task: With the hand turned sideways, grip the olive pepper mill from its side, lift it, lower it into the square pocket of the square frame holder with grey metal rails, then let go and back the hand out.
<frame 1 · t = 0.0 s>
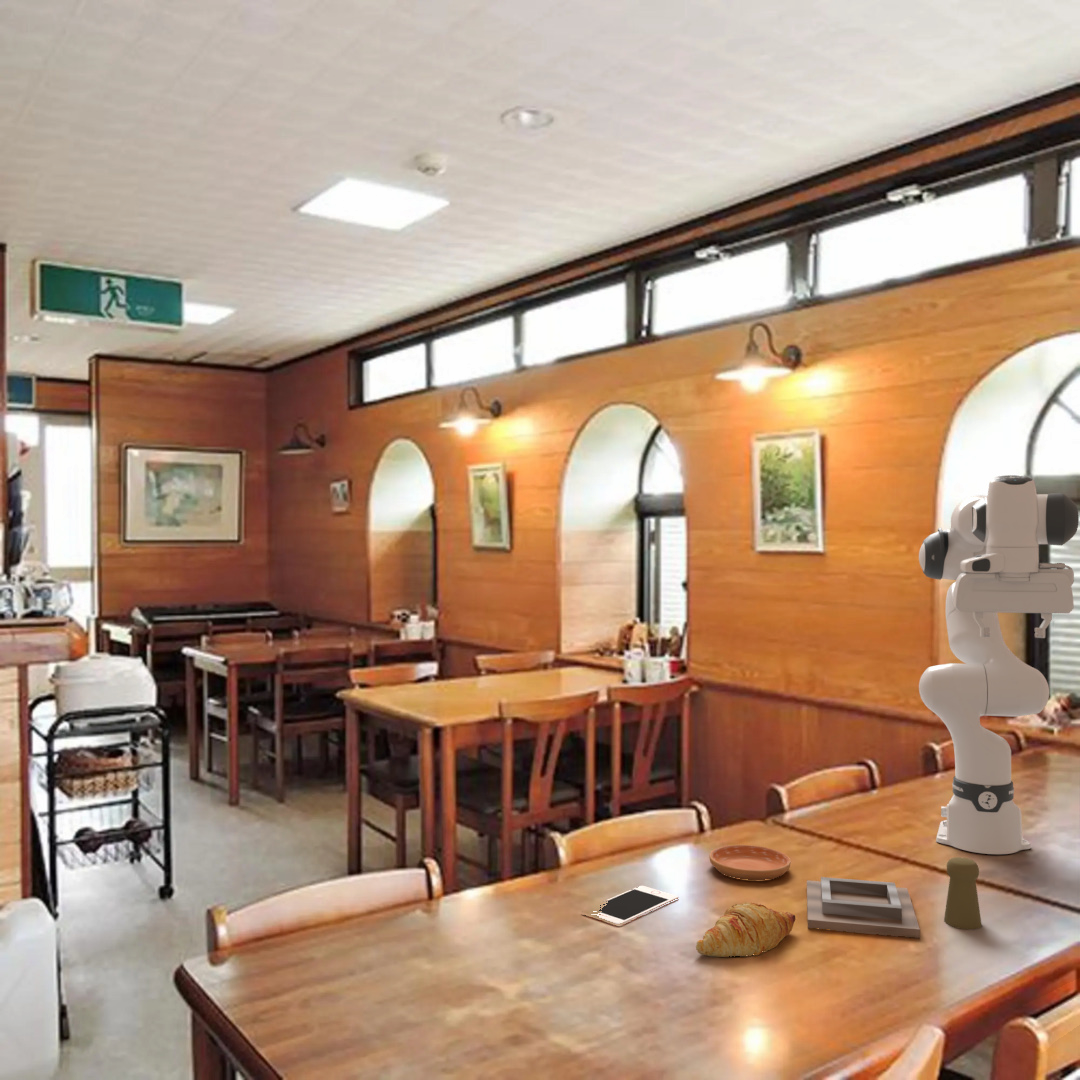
hand: (1012, 637, 188), 48 cm above the table, tool pointing down, fingers open, 8 cm apart
saucer: (749, 872, 202), on the table
olive pepper mill: (962, 923, 175), on the table
square frame holder: (859, 911, 180), on the table
croissant: (745, 946, 166), on the table
cell phone: (630, 909, 183), on the table
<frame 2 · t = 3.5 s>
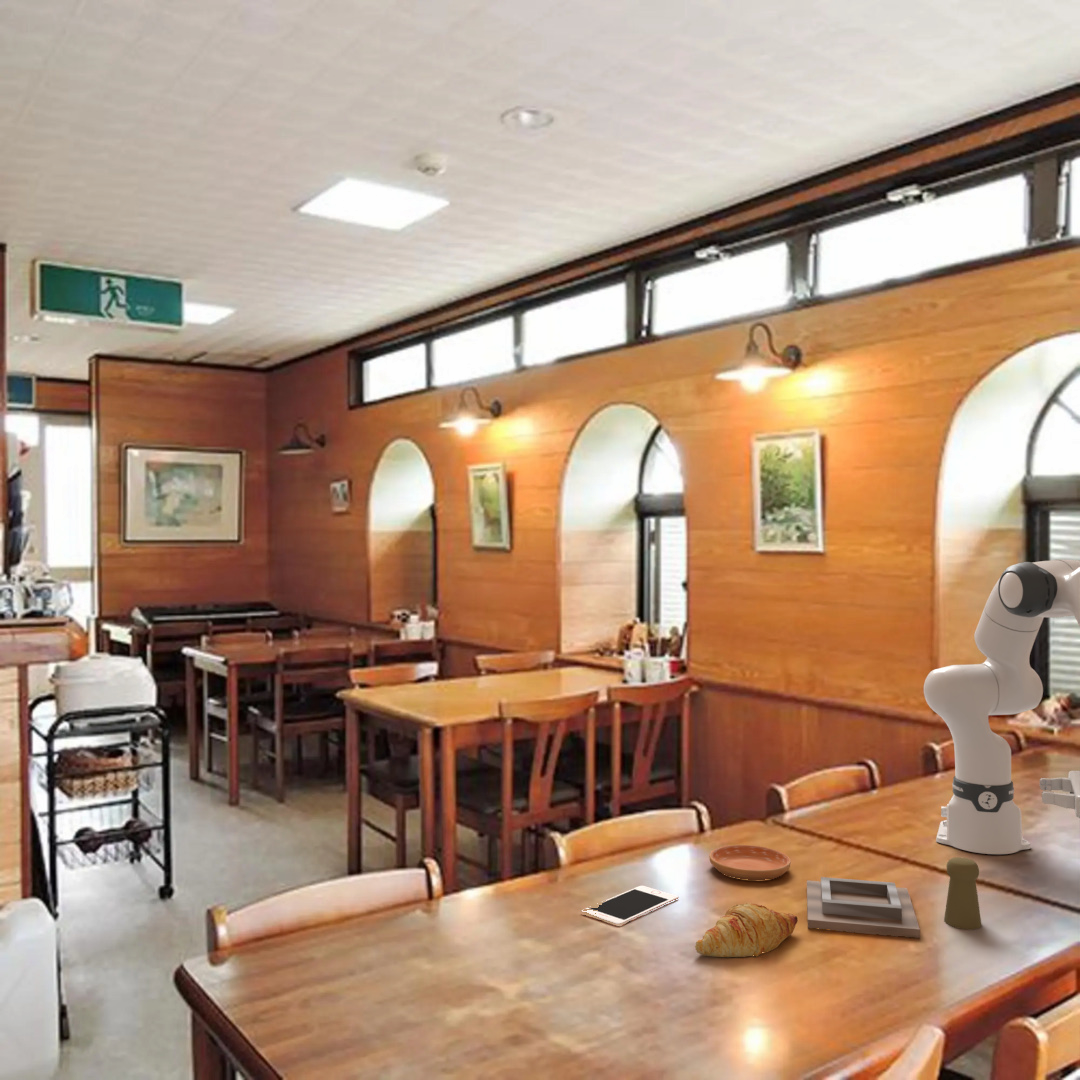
hand: (1040, 790, 170), 24 cm above the table, tool horizontal, fingers open, 8 cm apart
nothing on the table moved.
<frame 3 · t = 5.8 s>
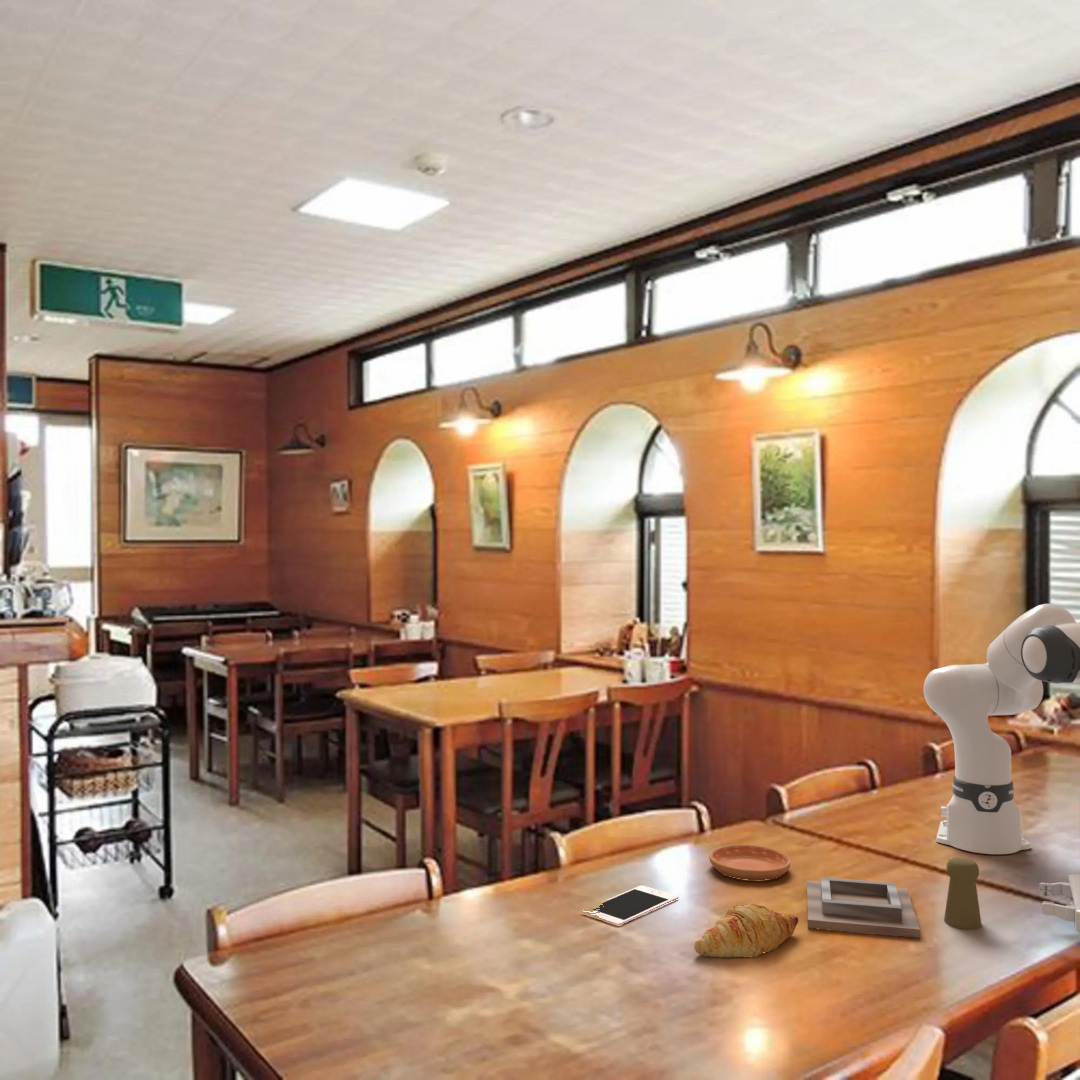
hand: (1040, 897, 170), 6 cm above the table, tool horizontal, fingers open, 8 cm apart
nothing on the table moved.
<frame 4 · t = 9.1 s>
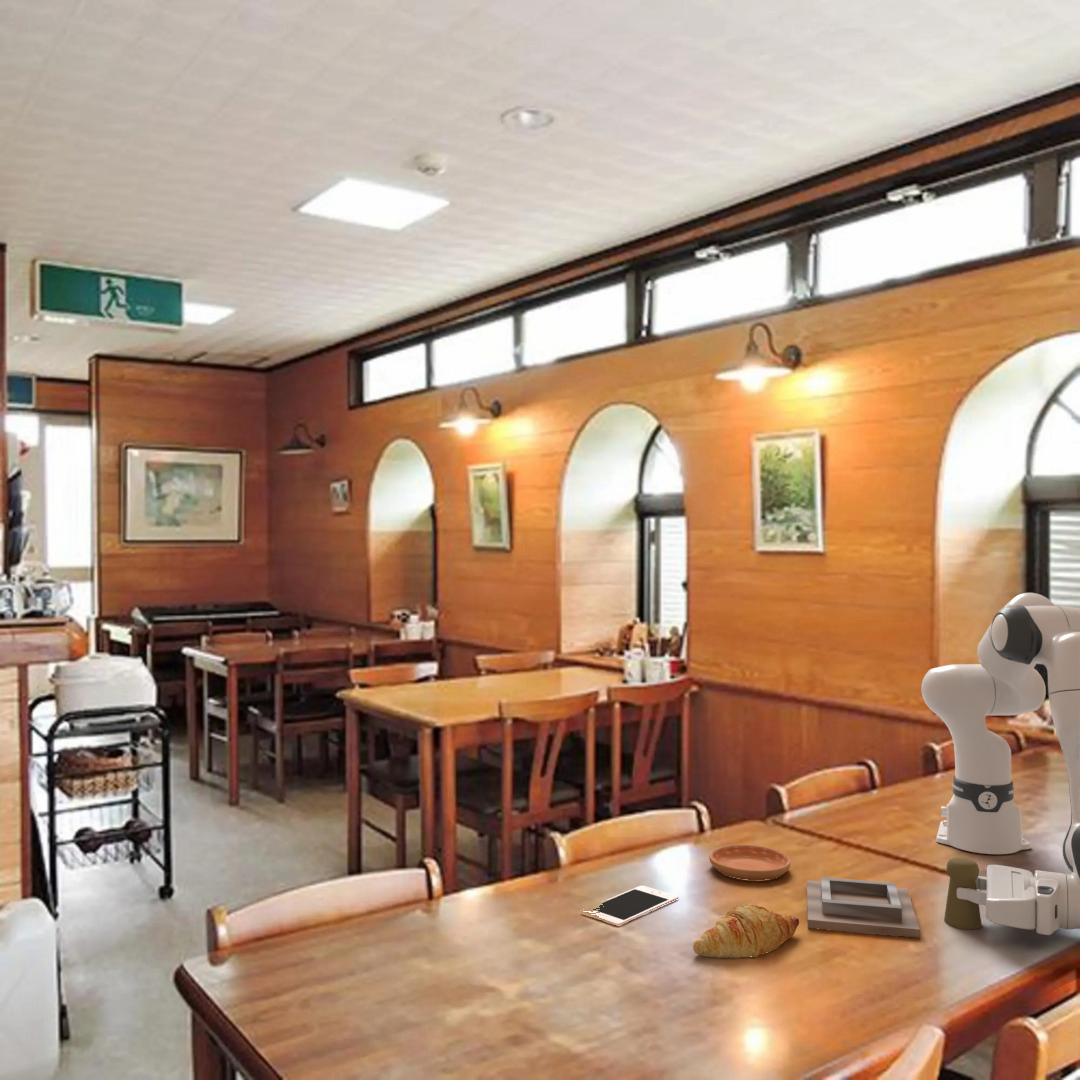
hand: (957, 887, 175), 6 cm above the table, tool horizontal, fingers closed on olive pepper mill, 4 cm apart
olive pepper mill: (962, 923, 175), on the table, touching gripper
everything else where it was.
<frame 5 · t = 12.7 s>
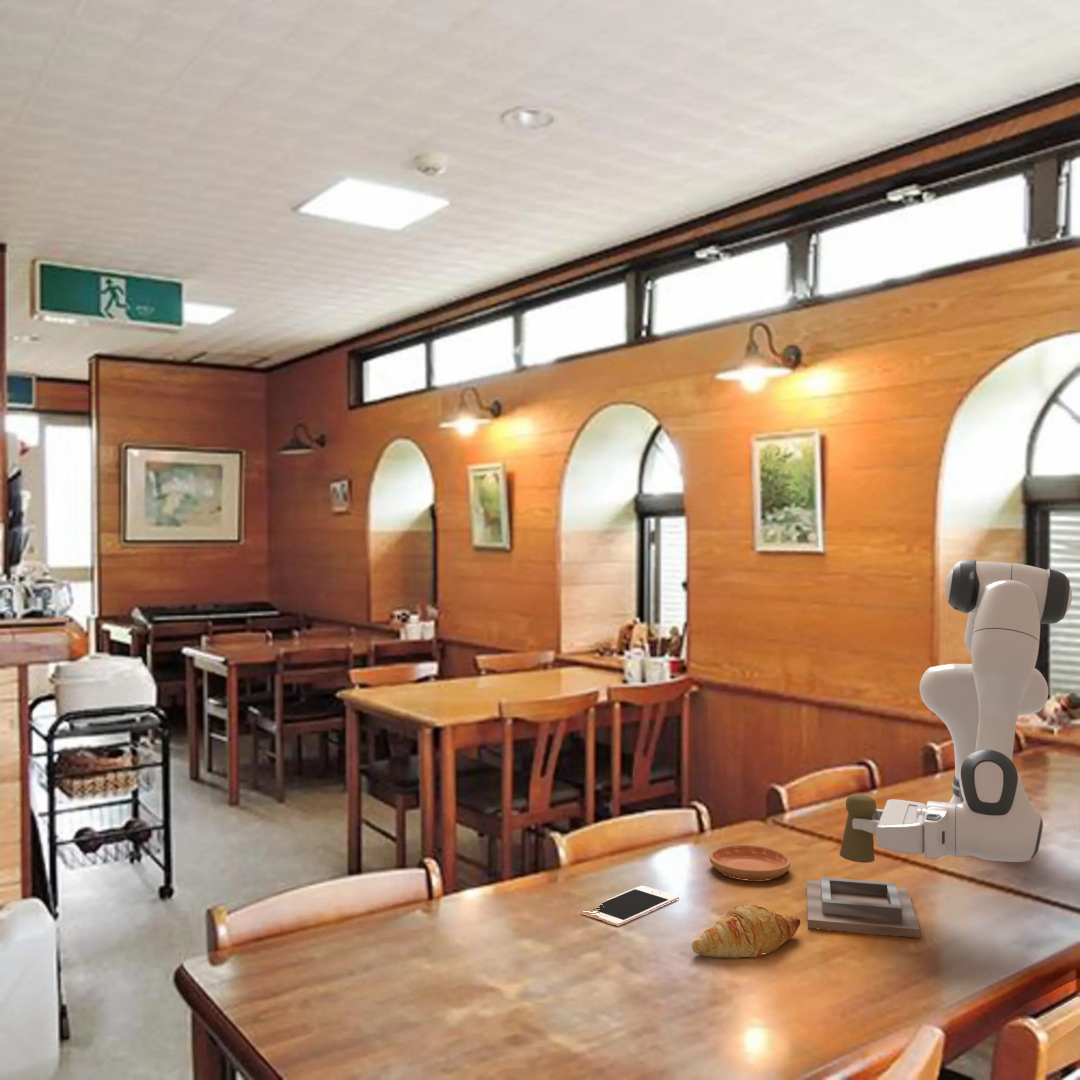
hand: (854, 818, 180), 16 cm above the table, tool horizontal, fingers closed on olive pepper mill, 4 cm apart
olive pepper mill: (856, 857, 180), point 10 cm above the table, touching gripper
everything else where it was.
when the fingers open (9 cm above the table, at t = 14.6 s): olive pepper mill moves 2 cm, resting on square frame holder.
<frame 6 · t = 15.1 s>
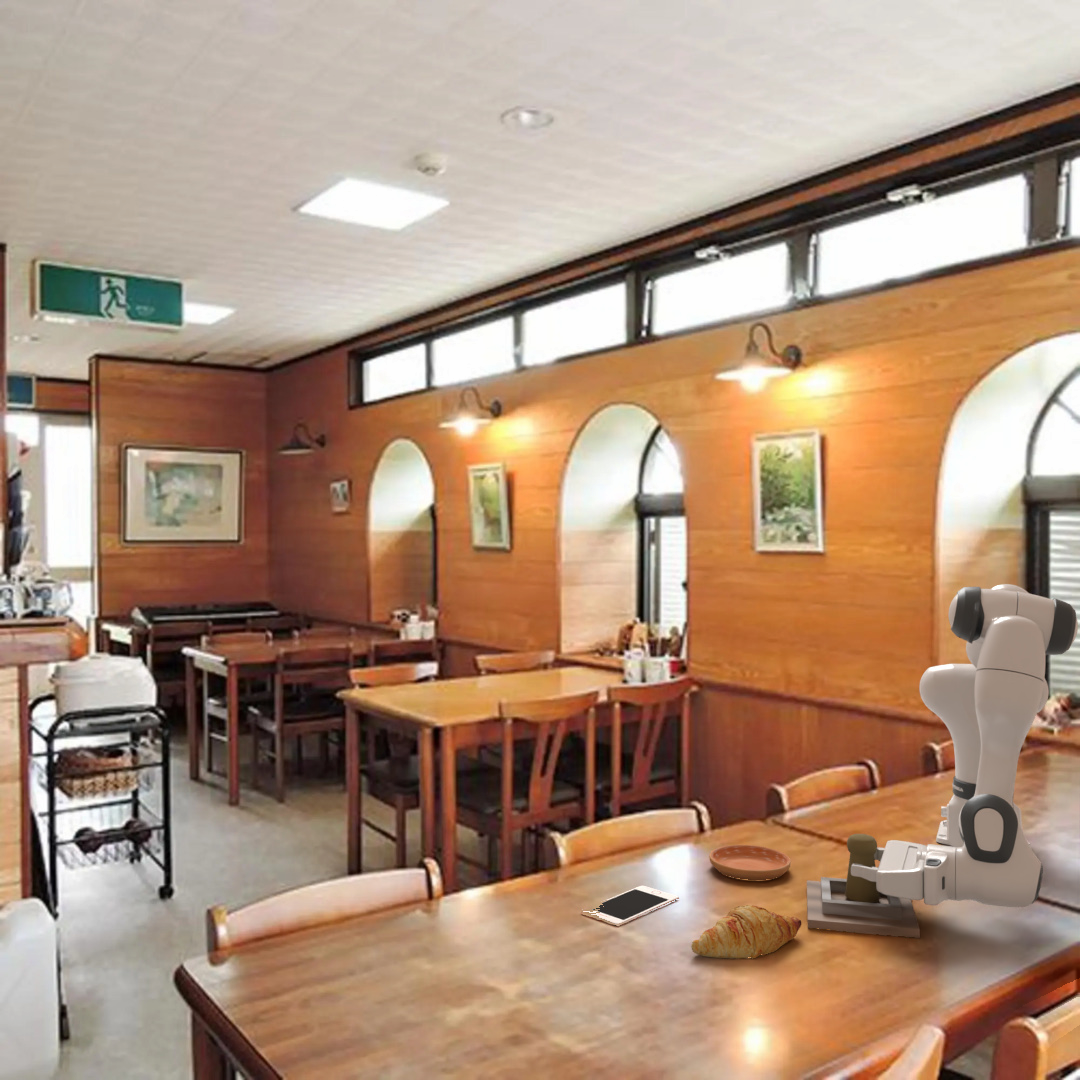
hand: (854, 861, 180), 9 cm above the table, tool horizontal, fingers open, 8 cm apart
olive pepper mill: (862, 897, 182), point 2 cm above the table, touching square frame holder, gripper
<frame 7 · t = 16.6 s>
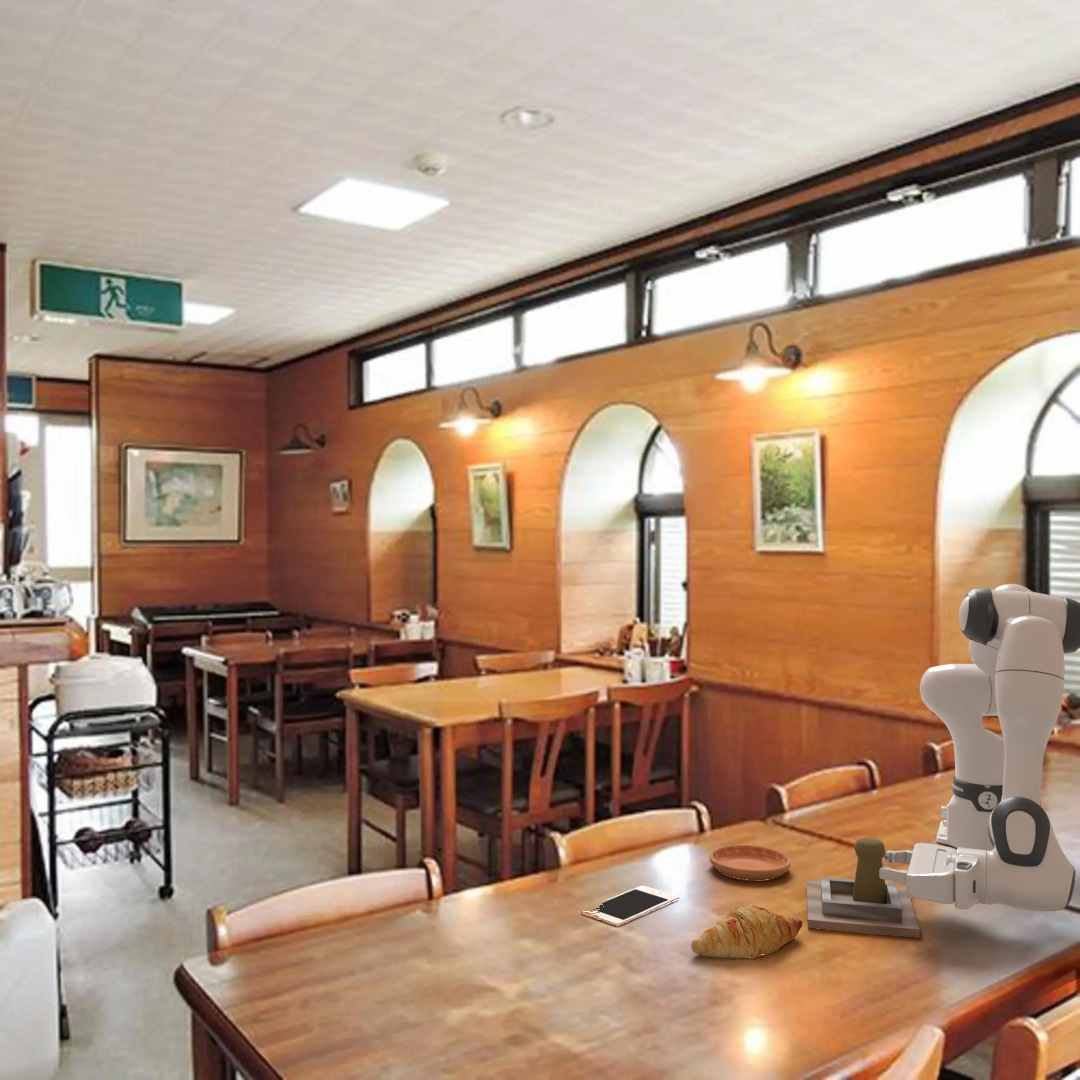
hand: (882, 864, 178), 9 cm above the table, tool horizontal, fingers open, 8 cm apart
olive pepper mill: (870, 901, 181), point 1 cm above the table, touching square frame holder
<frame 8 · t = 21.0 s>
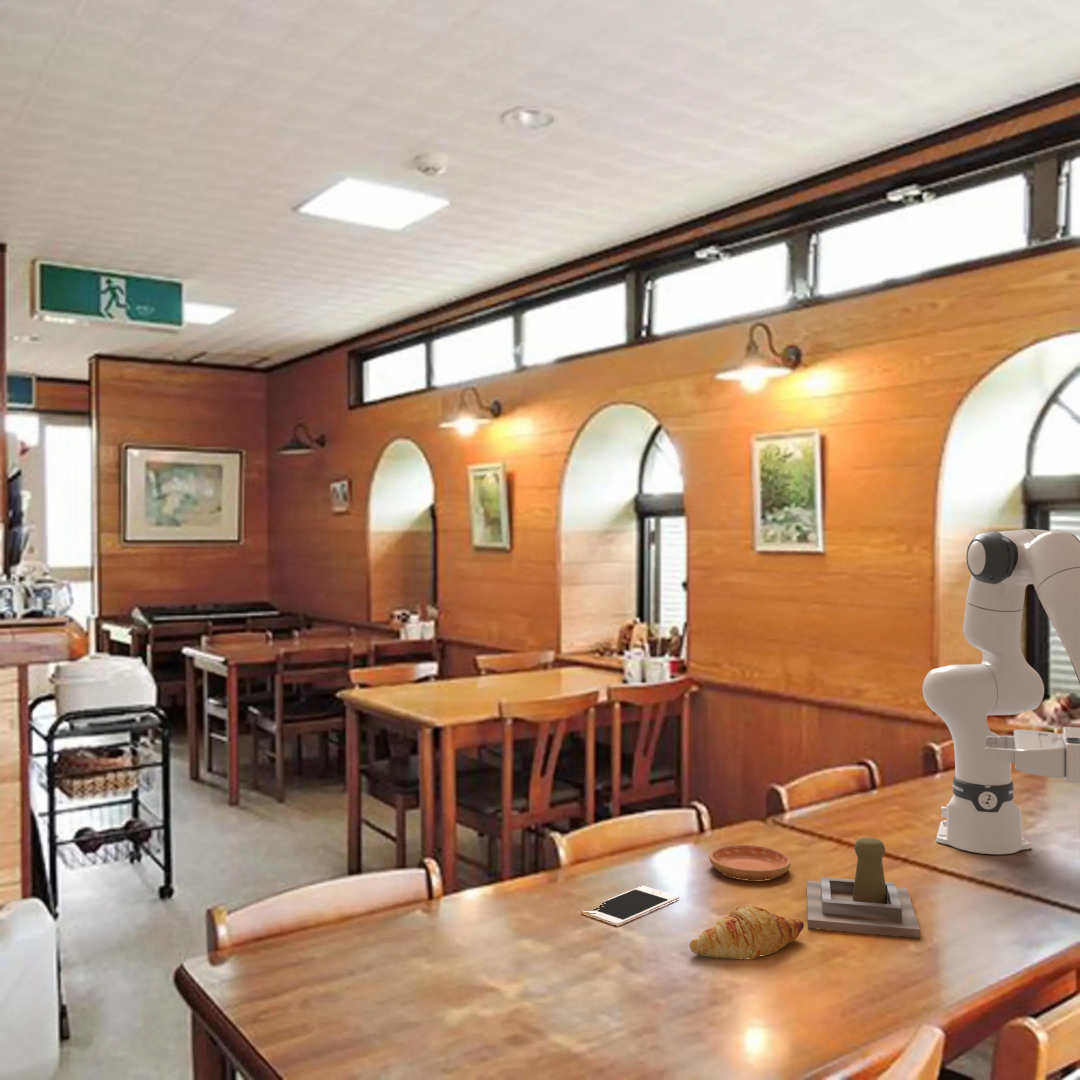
hand: (985, 746, 177), 30 cm above the table, tool horizontal, fingers open, 8 cm apart
at the end: olive pepper mill 2.7 cm off-centre on the square frame holder, point 1.3 cm above the square frame holder's base; olive pepper mill tilted 0°; the gripper is holding nothing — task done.
